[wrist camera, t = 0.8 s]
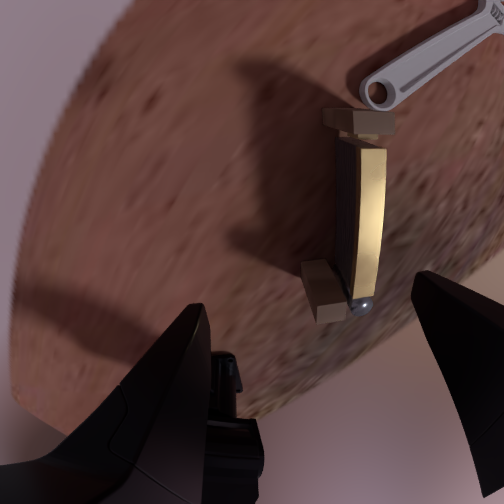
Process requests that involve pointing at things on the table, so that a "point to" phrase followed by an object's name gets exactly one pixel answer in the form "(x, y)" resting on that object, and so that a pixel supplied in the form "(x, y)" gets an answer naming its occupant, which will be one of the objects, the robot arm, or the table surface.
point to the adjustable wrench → (433, 55)
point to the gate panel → (358, 219)
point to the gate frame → (318, 271)
